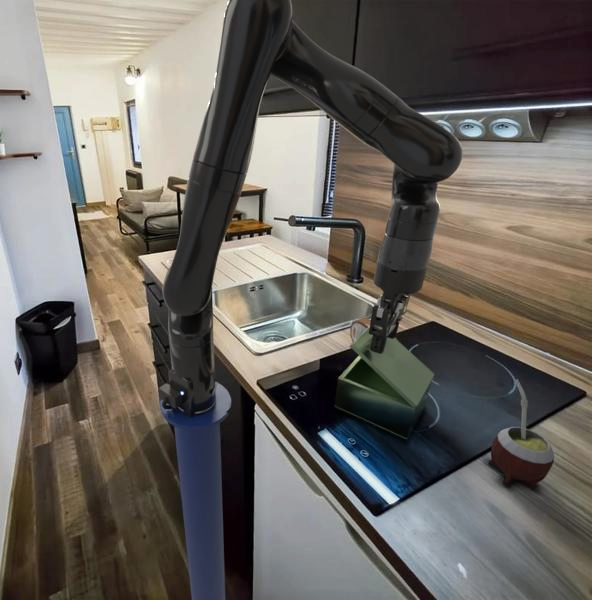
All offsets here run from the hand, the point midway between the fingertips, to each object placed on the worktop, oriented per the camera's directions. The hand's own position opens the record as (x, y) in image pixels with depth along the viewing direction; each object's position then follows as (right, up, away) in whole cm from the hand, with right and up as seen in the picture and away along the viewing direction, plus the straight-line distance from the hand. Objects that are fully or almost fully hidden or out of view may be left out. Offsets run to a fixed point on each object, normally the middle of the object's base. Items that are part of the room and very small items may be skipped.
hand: (382, 343), depth 69 cm
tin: (+9, -6, +22) cm, 24 cm away
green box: (+2, -14, +5) cm, 15 cm away
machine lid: (+2, -3, 0) cm, 4 cm away
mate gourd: (+16, -20, -9) cm, 27 cm away
